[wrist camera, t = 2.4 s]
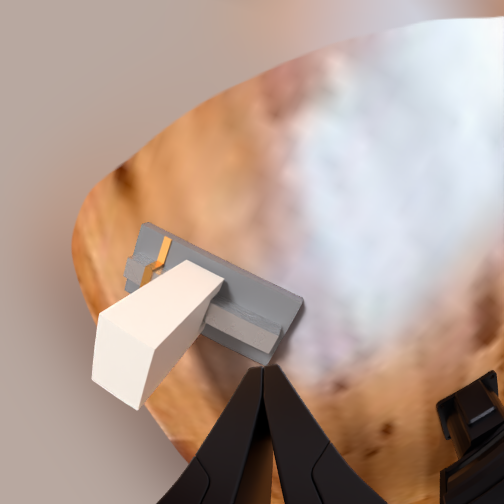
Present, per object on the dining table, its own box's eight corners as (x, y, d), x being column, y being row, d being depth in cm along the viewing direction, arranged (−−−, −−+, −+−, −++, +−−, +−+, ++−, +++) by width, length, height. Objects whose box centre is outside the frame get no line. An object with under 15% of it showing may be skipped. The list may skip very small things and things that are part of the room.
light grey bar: (283, 322, 21) (279, 335, 19) (271, 343, 22) (266, 357, 20) (141, 249, 22) (126, 255, 20) (135, 271, 23) (121, 279, 21)
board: (302, 298, 21) (302, 304, 20) (268, 359, 23) (265, 367, 22) (148, 222, 22) (141, 224, 21) (131, 286, 24) (123, 290, 23)
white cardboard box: (224, 278, 20) (154, 349, 11) (203, 330, 22) (137, 410, 13) (186, 259, 21) (99, 313, 12) (169, 311, 22) (91, 379, 13)
